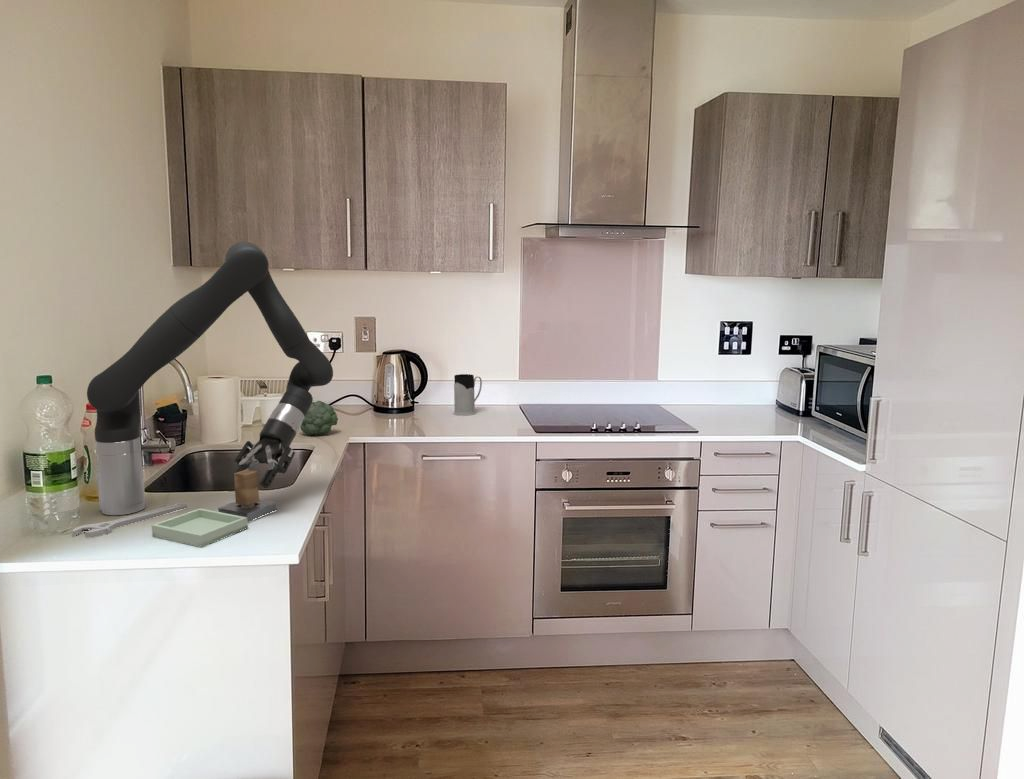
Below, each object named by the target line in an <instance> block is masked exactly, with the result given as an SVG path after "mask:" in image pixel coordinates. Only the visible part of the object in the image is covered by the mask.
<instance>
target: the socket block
mask: <svg viewBox="0 0 1024 779" xmlns="http://www.w3.org/2000/svg"><path fill="white" fill-rule="evenodd" d="M275 510H277V511H278V504H277V502H276V501H270V500H265V499H261V498H259V502H257V503H255V506H254V507H251V508H248V509H246V508H241V505H240V504H236V501H234V502H230V503H228V504H225V505H223V506H220V507H218V510H217V512H222V513H227V514H232V515H237V516H242V517H247V520H248V522H249V521H251V520H253V519H255V518H258V517H260V516H262V515H265V514H267V513H270V512H272V511H275ZM249 523H250V522H249Z"/></svg>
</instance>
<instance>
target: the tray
mask: <svg viewBox="0 0 1024 779" xmlns="http://www.w3.org/2000/svg"><path fill="white" fill-rule="evenodd" d="M245 528H248V529H249V523H248V520H247V517H242V516H237V515H232V514H227V513H222V512H219V511H217V510H211V509H206V508H200V507H199V508H198V509H197V508H196V509H194V510H191V511H189V512H185V513H183V514H182V513H181V514H180V515H177V516H174V517H171V518H169V519H165V520H163V521H159V522H156V523H154V524H151V535H152V537H154V538H158V539H164V540H166V539H167V541H171V540H172V541H171V542H175V541H176V542H175V543H180V542H181V543H180V544H184V543H185V545H188V544H189V545H190V546H193V547H197V546H198V548H203V546H204V547H205V546H208V545H210V543H211V544H213V543H216V542H218V541H220V540H219V539H221V538H223V539H225V538H224V537H226V536H228V537H230V536H229V535H231V534H233V533H236V532H238V531H240V530H243V529H245ZM243 531H244V530H243ZM238 533H239V532H238ZM236 534H237V533H236ZM233 535H234V534H233ZM231 536H232V535H231ZM226 538H227V537H226ZM217 540H218V541H217ZM221 540H222V539H221ZM215 541H216V542H215Z"/></svg>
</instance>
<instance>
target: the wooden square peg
mask: <svg viewBox="0 0 1024 779" xmlns="http://www.w3.org/2000/svg"><path fill="white" fill-rule="evenodd" d="M233 476H234V480H233V481H234V493H235V502H236V504H240V505H241V508H246V509H248V508H251V507H254V506H255V503H257V502H259V499H260V494H259V493H260V492H259V475H258V471H257V470H251V469H248V470H243V471H240V472H237V473H235V472H234V473H233Z"/></svg>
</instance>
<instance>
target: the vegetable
mask: <svg viewBox="0 0 1024 779" xmlns="http://www.w3.org/2000/svg"><path fill="white" fill-rule="evenodd" d="M338 419H339V417H338V415H337V413H336V412H335V409H334V407H333V406H332V405H331V404H329V403H325V402H324V401H321V400H316V401H312V404H311V406H310V408H309V410H308V412H307V413H306V415H305V417H304V419H303V422H302V424H301V426H300V428H299V429H300V430H301V432H303V433H305V435H306V436H308V435H310V436H312V435H316V434H317V435H319V436H322V435H323V434H327V433H329V431H330V430H331V428H332V426H336V425H337V424H338V421H339V420H338Z"/></svg>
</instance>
